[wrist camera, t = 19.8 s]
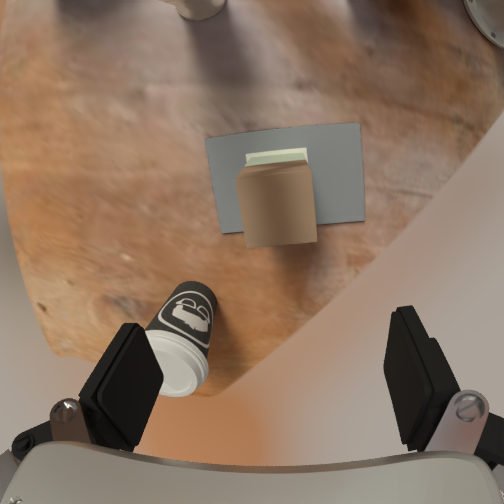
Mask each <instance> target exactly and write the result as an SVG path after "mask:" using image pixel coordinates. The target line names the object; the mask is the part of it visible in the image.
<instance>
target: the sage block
mask: <svg viewBox="0 0 504 504" xmlns="http://www.w3.org/2000/svg"><path fill="white" fill-rule="evenodd" d="M295 160H306V158H305V156H304V154H303V152H300V153H289V154H278V155H269V156H259V157H251V158H250V159H249V161H248V162H247V163H246V165H245V166H252V165H260V164H268V163H277V162H286V161H295Z"/></svg>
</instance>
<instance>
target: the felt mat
mask: <svg viewBox="0 0 504 504" xmlns="http://www.w3.org/2000/svg"><path fill="white" fill-rule="evenodd" d="M205 145H206V151H207V156H208V162H209V168H210V173H211V179H212V185H213V190H214V196H215V201H216V207H217V212H218V217H219V223H220V228H221V233H231V232H241V231H244V230H243V224H242V218H241V213H240V207H239V201H238V195H237V189H236V183H235V179H236V177H237V176H238V175H239V173H240V172H241V170H242V169H243V167H244V166H245V165H246V163H247V162H248V161H249V159H250V158H251V157H259V156H269V155H278V154H289V153H300V152H303V154H304V156H305V158H306V161H307V163H308V165H309V167H310V169H311V173H312V183H313V194H314V205H315V217H316V225H317V224H329V223H341V222H353V221H365V206H364V178H363V160H362V145H361V133H360V123H341V124H324V125H310V126H299V127H288V128H278V129H270V130H261V131H253V132H246V133H239V134H232V135H225V136H219V137H213V138H207V139H205Z"/></svg>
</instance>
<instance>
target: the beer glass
mask: <svg viewBox="0 0 504 504" xmlns="http://www.w3.org/2000/svg"><path fill="white" fill-rule="evenodd" d="M160 1H162V2H165V3H168V4H171V5H174V6H175V7H176V9H177V11H178V13H179V14H180V15H181V16H183V17H184V18H186V19H189V20H194V21H199V20H205V19H208V18H210V17H212V16H214V15H215V14H217V13H218V12H219V11H220V10H221V9H222V7H223V5H224V3H225V0H160Z"/></svg>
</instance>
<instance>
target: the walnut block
mask: <svg viewBox="0 0 504 504" xmlns="http://www.w3.org/2000/svg"><path fill="white" fill-rule="evenodd" d="M235 183H236V189H237V195H238V201H239V207H240V213H241V218H242V224H243V230H244V236H245V242H246V248H257V247H268V246H278V245H289V244H299V243H310V242H317V230H316V217H315V205H314V194H313V183H312V173H311V169H310V167H309V165H308V163H307V161H306V160H295V161H286V162H277V163H268V164H260V165H252V166H244V167H243V169H242V170H241V172H240V173H239V175H238V176H237V177H236V179H235Z"/></svg>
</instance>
